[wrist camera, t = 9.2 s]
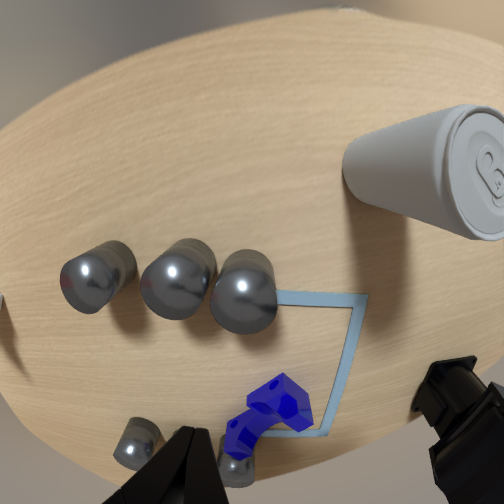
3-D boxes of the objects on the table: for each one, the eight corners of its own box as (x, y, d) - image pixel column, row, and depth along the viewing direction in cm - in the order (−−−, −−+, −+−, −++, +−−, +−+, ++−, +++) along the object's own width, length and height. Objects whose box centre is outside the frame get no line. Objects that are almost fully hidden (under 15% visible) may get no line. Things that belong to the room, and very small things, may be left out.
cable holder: (282, 371, 23) (285, 403, 19) (307, 392, 23) (313, 424, 19) (216, 412, 24) (210, 443, 20) (242, 430, 25) (239, 460, 21)
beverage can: (375, 218, 19) (492, 273, 7) (325, 172, 18) (418, 172, 7) (413, 167, 18) (542, 176, 6) (365, 121, 17) (480, 73, 6)
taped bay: (367, 294, 20) (368, 295, 20) (326, 434, 25) (327, 436, 24) (260, 288, 20) (260, 290, 20) (248, 434, 25) (248, 435, 24)
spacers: (276, 243, 20) (281, 266, 15) (253, 454, 26) (252, 490, 21) (94, 232, 20) (55, 249, 15) (133, 436, 26) (119, 468, 21)
